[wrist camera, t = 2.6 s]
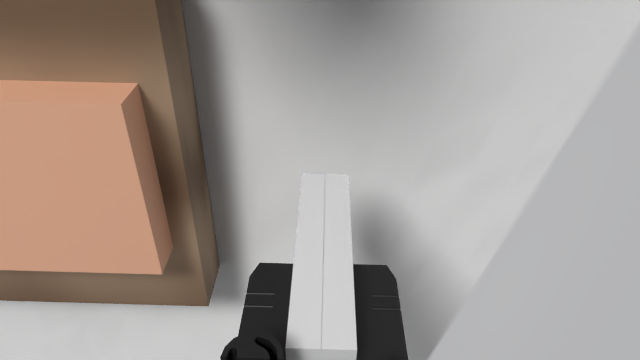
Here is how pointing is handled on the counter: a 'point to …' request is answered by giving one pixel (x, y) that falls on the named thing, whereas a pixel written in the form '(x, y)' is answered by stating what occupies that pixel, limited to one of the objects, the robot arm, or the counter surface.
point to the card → (79, 180)
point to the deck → (162, 121)
